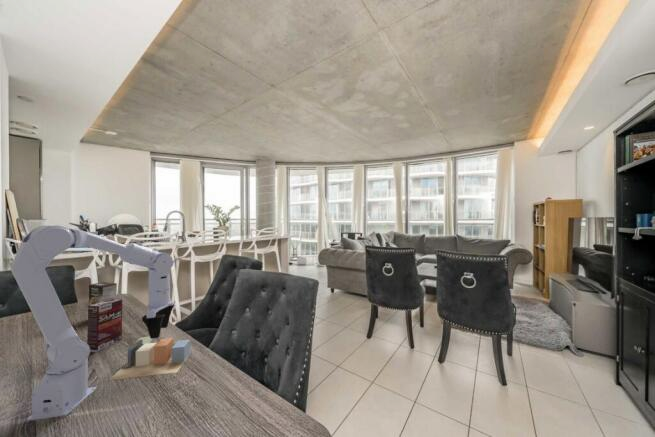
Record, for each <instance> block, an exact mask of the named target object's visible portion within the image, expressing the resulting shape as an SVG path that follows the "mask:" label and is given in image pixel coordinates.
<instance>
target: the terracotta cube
mask: <svg viewBox="0 0 655 437" xmlns="http://www.w3.org/2000/svg"><path fill="white" fill-rule="evenodd" d="M156 343H157V344H156V345H155V346H154V364H163V363H167V362H168V361H169V360H170V358H171V357H172V347H173V346H174V345H175V342H174V337H170V338H161V339H160V340H159V341H158V342H156Z"/></svg>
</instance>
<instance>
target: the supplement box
mask: <svg viewBox="0 0 655 437" xmlns="http://www.w3.org/2000/svg"><path fill="white" fill-rule="evenodd" d="M86 332H87V334H86V335H87V338H86V340H87V341H86V342H87V343H86V344H88V346H89V347H90V353H95V354H96V353H98V352H100V351H102V350H103V349H105V348H108V347H109V346H113V345H114V344H116V343H119V342H120V341H122V339H123V338H122V337H123V336H122V335H123V299H122V298H121V299H120V298H117V299H111V300H108V301H104V302H100V303H97V304H93V305H89V304H88V305H87V331H86Z"/></svg>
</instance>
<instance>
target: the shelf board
mask: <svg viewBox="0 0 655 437" xmlns="http://www.w3.org/2000/svg"><path fill="white" fill-rule="evenodd" d="M190 354H192V351H191V350H190ZM190 354H189V355H188V357H187V358H186V359H185V361H182V362H172V357H171V358H170V360H169V361H168V362H167V363H163V364H154V360H153V361H152V362H151V363H150V364H149V365H144V366H136V363H135V364H134V365H133V366H132V367H131V368H123V369H122V367H121V368H120V369H119V370H118V371H117V372H116V373H115V374H114V375H112V376H111V377H110V378H109V379H108V381H115V380H116V381H117V380H122V379H123V380H125V379H132V378H142V377H151V376H161V375H167V374H177V373H178V372H179V371H180V370H181V368H182V366H183V365H184V363H185V362H186V360H188V358H189V356H190Z"/></svg>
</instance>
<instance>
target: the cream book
mask: <svg viewBox="0 0 655 437" xmlns="http://www.w3.org/2000/svg"><path fill="white" fill-rule="evenodd" d="M157 343H158V342H151V343H146V344H144V345H143V346H141V347H140V348H139V349H138V350H137V351H136V366H144V365H149V364H150V363H151V362H152V361H153V360H154V346H155V345H156V344H157Z"/></svg>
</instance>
